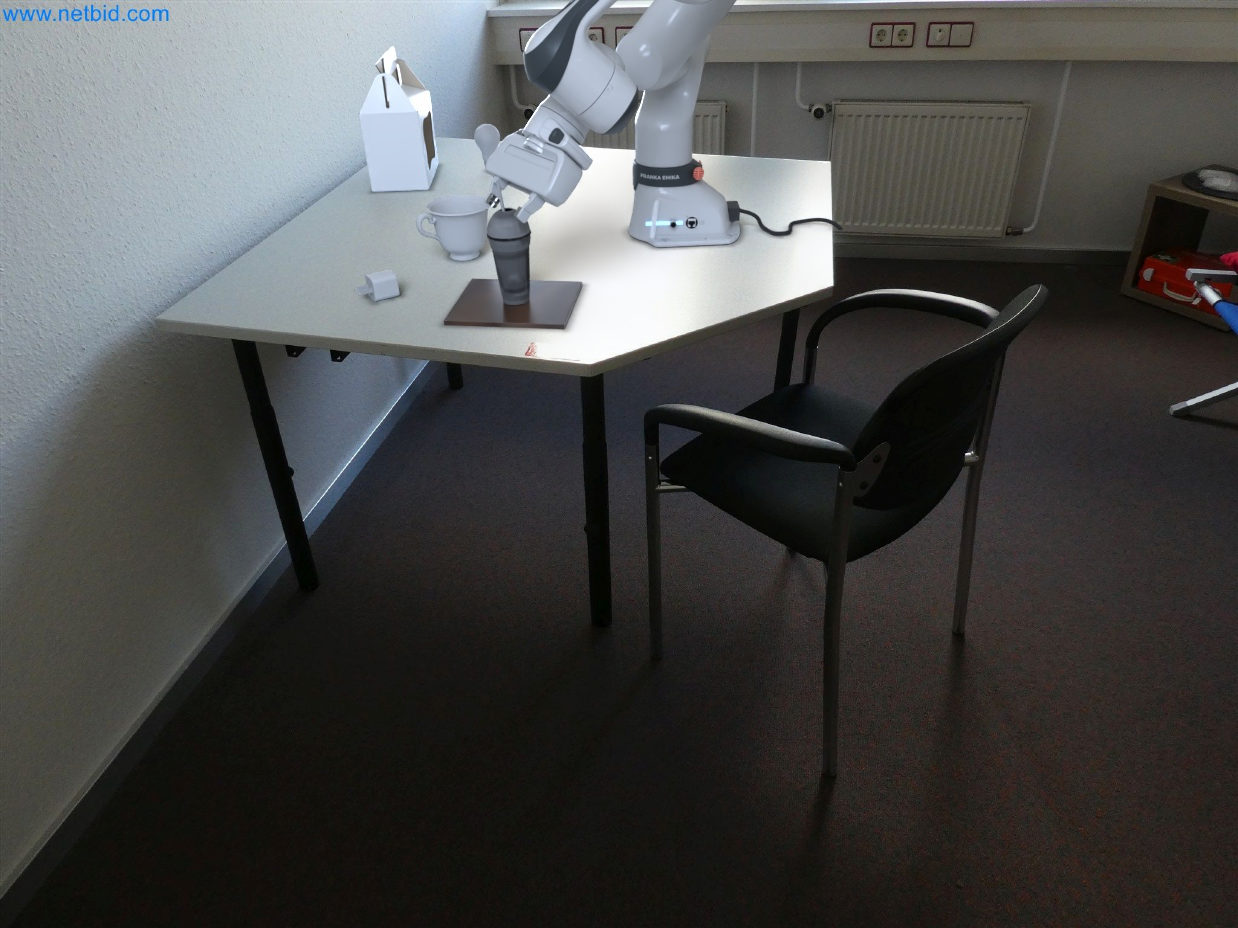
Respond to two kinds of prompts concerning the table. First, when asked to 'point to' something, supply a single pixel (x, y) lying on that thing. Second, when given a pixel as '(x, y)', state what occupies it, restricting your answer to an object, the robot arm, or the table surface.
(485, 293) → the mat
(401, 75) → the gable box
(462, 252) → the teacup
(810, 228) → the table surface
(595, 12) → the robot arm
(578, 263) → the table surface
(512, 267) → the beverage cup
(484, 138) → the lightbulb
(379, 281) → the usb wall charger
